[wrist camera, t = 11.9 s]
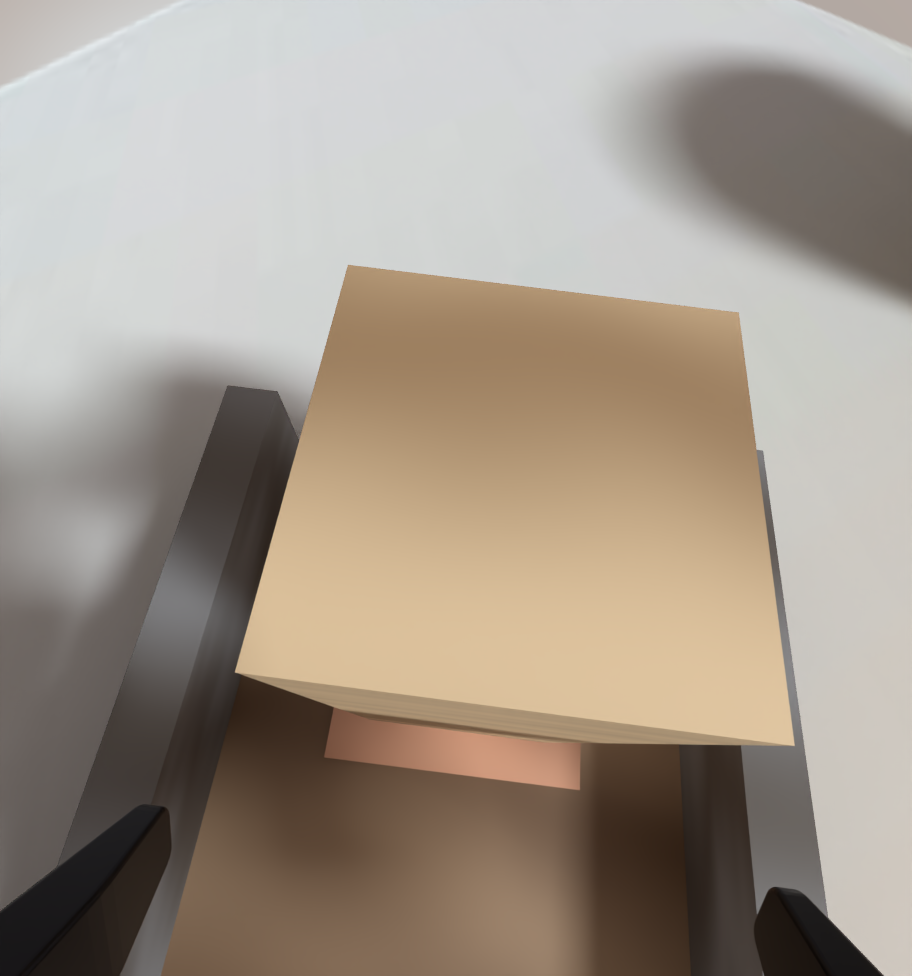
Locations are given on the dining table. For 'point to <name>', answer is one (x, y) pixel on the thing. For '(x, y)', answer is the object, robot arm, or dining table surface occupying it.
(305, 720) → the bay
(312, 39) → the dining table surface
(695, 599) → the oak block
